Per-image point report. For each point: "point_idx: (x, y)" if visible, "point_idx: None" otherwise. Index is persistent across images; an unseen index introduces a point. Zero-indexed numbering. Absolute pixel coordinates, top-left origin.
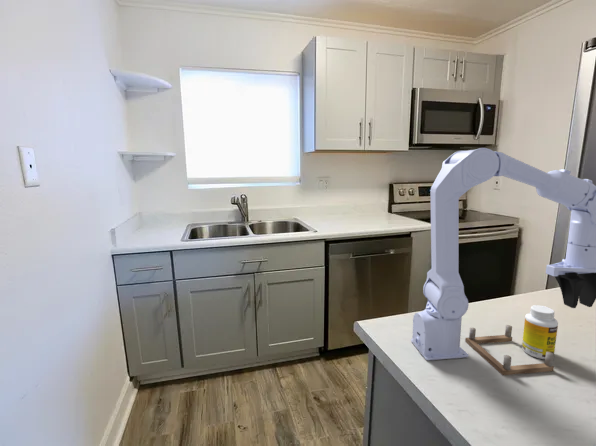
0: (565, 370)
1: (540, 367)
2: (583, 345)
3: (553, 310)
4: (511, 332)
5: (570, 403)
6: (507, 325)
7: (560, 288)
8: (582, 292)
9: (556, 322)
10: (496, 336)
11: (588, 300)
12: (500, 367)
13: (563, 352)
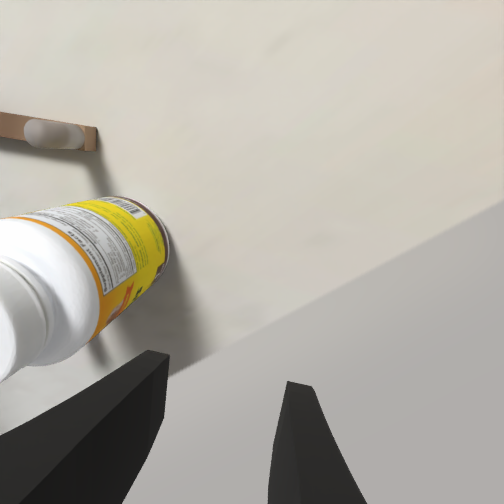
0: (131, 335)
1: None
2: (344, 261)
3: (7, 370)
4: (66, 146)
5: (33, 411)
6: (34, 124)
7: (6, 434)
8: (288, 482)
9: (49, 363)
10: (24, 124)
11: (273, 483)
12: None
13: (219, 269)
